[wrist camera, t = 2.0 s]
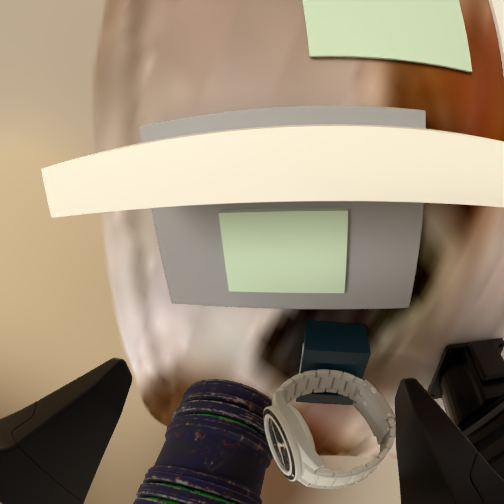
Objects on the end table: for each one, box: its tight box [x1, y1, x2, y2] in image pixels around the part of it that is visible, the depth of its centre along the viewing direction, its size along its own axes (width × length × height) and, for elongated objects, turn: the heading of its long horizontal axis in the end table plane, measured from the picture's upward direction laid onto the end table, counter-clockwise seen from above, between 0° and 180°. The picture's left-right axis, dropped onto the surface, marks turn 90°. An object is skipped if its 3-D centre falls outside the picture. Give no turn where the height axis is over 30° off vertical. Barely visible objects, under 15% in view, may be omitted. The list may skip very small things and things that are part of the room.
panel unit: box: [41, 106, 504, 309], centre depth 14 cm, size 12×16×10 cm
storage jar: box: [134, 379, 273, 504], centre depth 21 cm, size 10×10×15 cm
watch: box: [263, 320, 396, 489], centre depth 17 cm, size 6×8×11 cm
